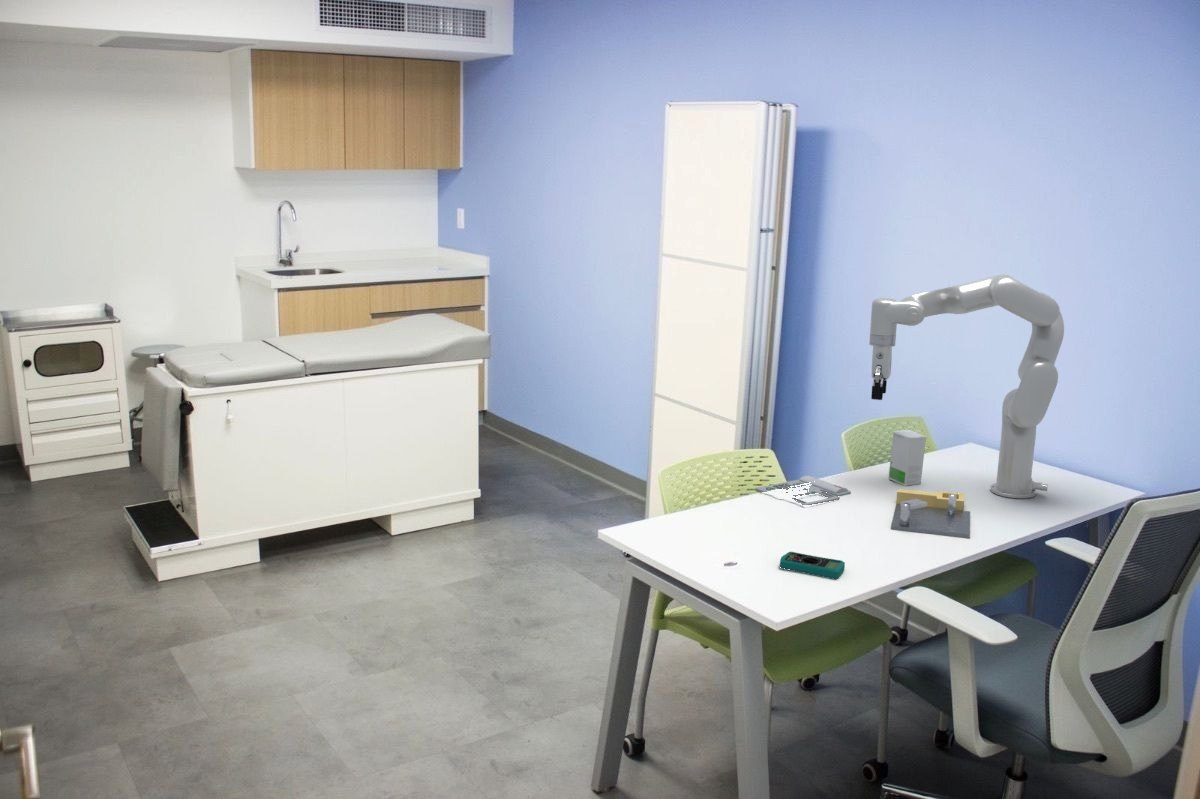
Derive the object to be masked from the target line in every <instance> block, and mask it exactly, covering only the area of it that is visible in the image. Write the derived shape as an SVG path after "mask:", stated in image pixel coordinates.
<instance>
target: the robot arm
mask: <svg viewBox="0 0 1200 799" xmlns="http://www.w3.org/2000/svg"><path fill="white" fill-rule="evenodd" d="M997 306H999V307H1000V308H1003V309H1004V310H1006V311H1008V312H1009V313H1012V314H1014V315H1015V316H1016V317H1017V316H1018V317H1019V318H1021V319H1023V320H1025V321H1027V322H1030V323H1031V335H1030V338H1029V341H1028V344H1027V347H1026V350H1025V352H1024V354H1023V357H1022V359H1021V361H1020V363H1019V365H1018V369H1017V374H1018V375H1017V376H1018V378H1019V380H1020V382H1019V385H1018V387H1017V388H1015V389H1012V390H1010V391H1009V392H1008V393H1007V394H1006V395H1005V396H1004V398H1003V402H1002V407H1001V409H1002V410H1001V433H1000V442H999V454H998V463H997V472H996V473H997V474H996V481H995V482H996V483H993V484H991V485H990V492H992V494H995V495H996V496H997V495H998V496H1001V497H1005V498H1011V499H1022V500H1023V499H1030V498H1033V497H1035V496H1036V490H1037V491H1041V492H1043V491H1044V492H1048V484H1044V483H1043V482H1035V481H1033V477H1032V475H1033V474H1032V473H1033V465H1034V454H1035V446H1036V436H1037V426H1038V425H1039V424H1040V423H1041V422H1042V421H1043V419H1044V418H1045V415H1046V414H1047V411H1048V409H1049V406H1050V403H1051V401H1052V399H1053V396H1054V393H1055V391H1056V388H1057V385H1058V383H1059V381H1058V380H1059V372H1058V370H1057V367H1056V366H1055V364H1056V361H1057V358H1058V356H1059V353H1060V349H1061V346H1062V343H1063V340H1064V336H1065V335H1064V334H1065V323H1064V318H1063V316H1062V313H1061V309H1060V306H1059V303H1058V302H1057V301H1056V300H1055V299H1054V298H1052V297H1051V296H1050V295H1048V294H1046V293H1044V292H1040V291H1038V290H1036V289H1033V288H1031V287H1030V286H1028V285H1026V284H1024V283H1022V282H1021V281H1019V280H1017V279H1016V278H1014V277H1013V276H1011V275H1009V274H998V275H994V276H990V277H989V276H988V277H985V278H981V279H978V280H974V281H970V282H965V283H962V284H958V285H953V286H947V287H943V288H939V289H933V290H929V291H924V292H920V293H918V294H917V293H916V294H912V295H908V296H905V297H904V298H903V299H901V300H900V301H899V300H898V301H897V300H896V299H893V298H886V297H885V298H884V297H883V298H882V297H879V298H875V299H873V300H872V304H871V311H870V312H871V314H870V329H869V330H870V331H869V341H868V342H869V344H868V345H870V346H872V357H871V378H872V379H873V381H872V386H871V396H870V398H871V400H875V401H876V400H877V401H882V400H883V397H884V396H883V395H884V394H886V392H887V382H888V381H887V380H889V378H890V377H891V375H892V358H893V356H892V355H893V347H896V342H897V341H896V339H897V338H896V337H897V325H903V326H909V327H914V326H918V325H919V324H921V323H923V321H924V320H925V318H928V317H932V316H937V315H943V314H944V315H945V314H953V315H962V314H963V315H965V314H969V313H972V312H976V311H980V310H985V309H988V308H994V307H997Z"/></svg>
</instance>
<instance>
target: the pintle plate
mask: <svg viewBox="0 0 1200 799" xmlns="http://www.w3.org/2000/svg"><path fill="white" fill-rule="evenodd" d="M956 496H957V495H956V494H949V500H948V509H944V508H935V507H926V506H927V502H924V501H921V500H919V499H912V500H908V501H903V502H900V504H898V503H896V502H895V508H894V512H893V517H892V521H891V525H890V530H894V531H895V530H897V531H905V532H910V533H911V532H912V533H921V534H930V535H936V536H937V535H938V536H947V537H956V538H963V539H970V537H971V510H963V511H962V510H955V507H956Z"/></svg>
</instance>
